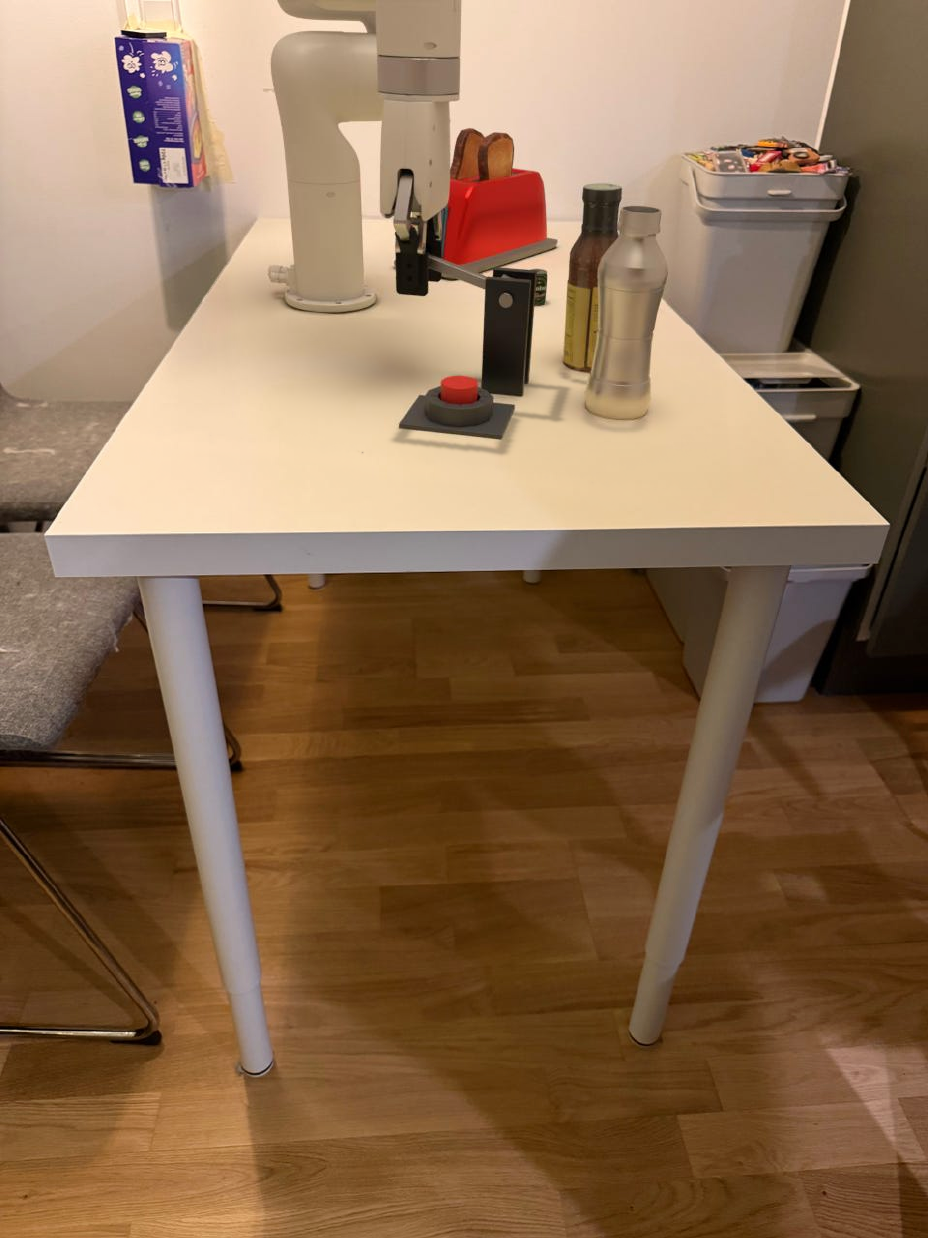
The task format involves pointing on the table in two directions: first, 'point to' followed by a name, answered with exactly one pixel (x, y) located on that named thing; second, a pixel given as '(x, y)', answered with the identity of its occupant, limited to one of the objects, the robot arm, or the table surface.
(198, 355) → the table surface
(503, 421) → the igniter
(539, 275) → the beer can
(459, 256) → the toaster
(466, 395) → the button
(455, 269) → the lever
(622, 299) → the plastic bottle
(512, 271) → the bracket
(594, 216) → the sauce bottle
